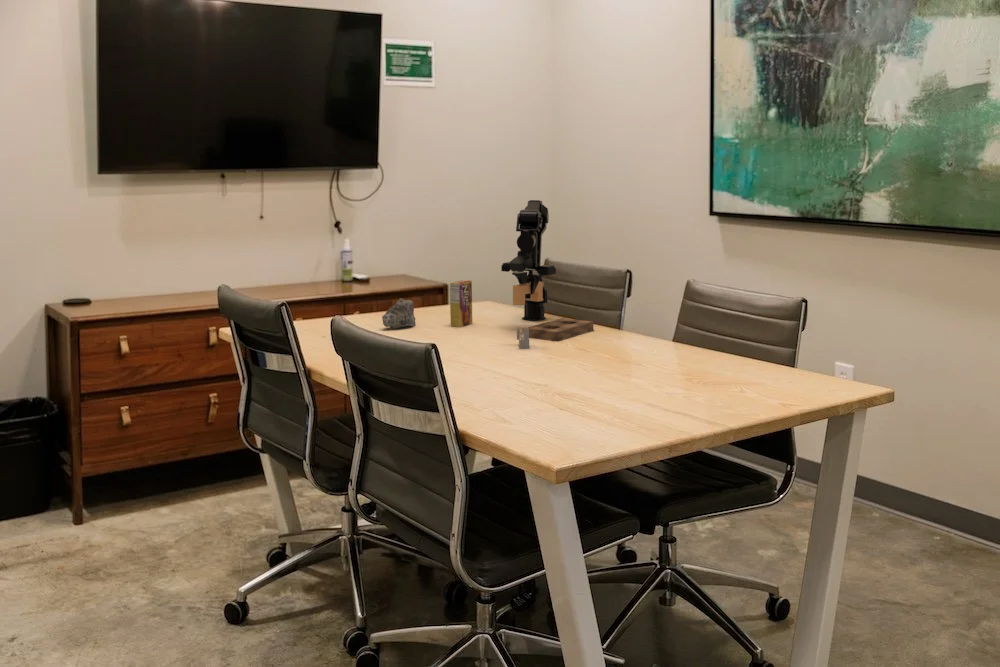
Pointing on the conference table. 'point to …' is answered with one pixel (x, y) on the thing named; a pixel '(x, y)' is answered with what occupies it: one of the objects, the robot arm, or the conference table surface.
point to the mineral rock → (400, 315)
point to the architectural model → (525, 341)
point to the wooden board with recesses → (560, 329)
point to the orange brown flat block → (524, 289)
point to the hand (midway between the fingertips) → (527, 293)
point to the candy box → (461, 303)
